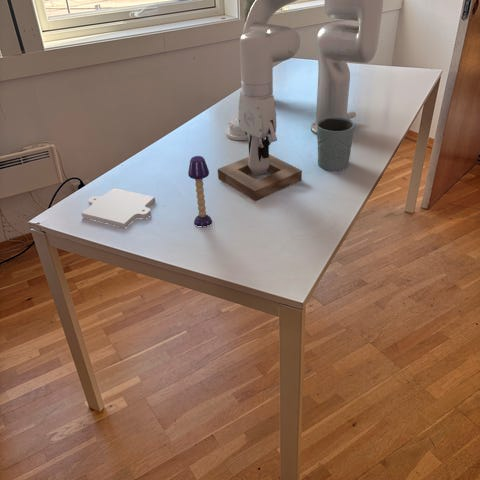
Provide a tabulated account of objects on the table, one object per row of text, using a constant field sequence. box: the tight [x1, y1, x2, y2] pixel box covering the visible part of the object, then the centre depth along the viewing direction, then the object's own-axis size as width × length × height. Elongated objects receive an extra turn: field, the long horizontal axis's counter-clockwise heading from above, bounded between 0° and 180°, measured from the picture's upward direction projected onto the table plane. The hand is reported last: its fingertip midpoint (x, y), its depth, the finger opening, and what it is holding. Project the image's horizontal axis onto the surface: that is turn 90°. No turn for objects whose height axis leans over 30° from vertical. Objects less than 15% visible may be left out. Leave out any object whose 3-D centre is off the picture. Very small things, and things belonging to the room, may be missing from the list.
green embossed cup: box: [316, 117, 356, 172], centre depth 131 cm, size 10×10×12 cm
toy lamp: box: [187, 155, 213, 228], centre depth 109 cm, size 5×5×17 cm
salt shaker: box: [248, 134, 270, 176], centre depth 124 cm, size 6×6×13 cm
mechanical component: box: [225, 118, 247, 141], centre depth 154 cm, size 10×4×10 cm
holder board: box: [217, 153, 303, 202], centre depth 129 cm, size 16×16×3 cm
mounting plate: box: [80, 187, 156, 229], centre depth 120 cm, size 18×13×2 cm
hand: (258, 156), depth 126 cm, fingers closed on salt shaker, 3 cm apart
